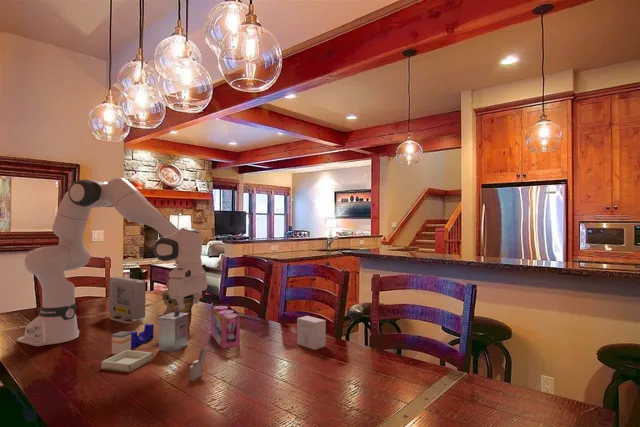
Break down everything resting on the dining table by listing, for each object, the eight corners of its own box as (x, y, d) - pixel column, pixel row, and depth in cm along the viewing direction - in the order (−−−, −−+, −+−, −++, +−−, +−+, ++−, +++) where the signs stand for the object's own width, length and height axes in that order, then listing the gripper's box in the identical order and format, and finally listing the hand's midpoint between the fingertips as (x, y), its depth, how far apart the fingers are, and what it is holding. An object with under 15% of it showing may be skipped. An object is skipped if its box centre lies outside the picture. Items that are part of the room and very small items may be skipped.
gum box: (241, 347, 146) (241, 314, 146) (222, 350, 143) (222, 317, 143) (227, 331, 166) (227, 303, 166) (210, 334, 162) (210, 305, 163)
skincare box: (326, 346, 147) (326, 319, 148) (315, 350, 143) (315, 323, 143) (307, 340, 155) (307, 314, 155) (296, 344, 150) (296, 317, 150)
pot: (169, 337, 157) (170, 294, 158) (155, 332, 164) (156, 291, 164) (204, 328, 171) (204, 288, 171) (190, 323, 178) (190, 286, 178)
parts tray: (101, 368, 125) (101, 361, 125) (126, 356, 135) (126, 349, 136) (129, 372, 122) (129, 364, 122) (152, 359, 133) (153, 352, 133)
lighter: (193, 381, 115) (193, 355, 115) (189, 380, 116) (189, 354, 116) (207, 372, 122) (207, 347, 122) (202, 371, 123) (203, 347, 123)
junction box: (157, 350, 142) (157, 309, 142) (171, 343, 150) (172, 304, 150) (175, 352, 140) (175, 311, 140) (188, 345, 148) (189, 305, 148)
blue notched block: (143, 337, 158) (143, 323, 158) (153, 338, 157) (153, 324, 157) (124, 347, 146) (124, 332, 146) (134, 348, 145) (134, 332, 145)
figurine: (173, 309, 206) (173, 273, 206) (183, 311, 201) (183, 274, 202) (159, 313, 198) (159, 275, 198) (169, 315, 194) (169, 276, 194)
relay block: (111, 354, 138) (111, 334, 138) (121, 349, 143) (121, 331, 143) (121, 355, 137) (122, 335, 137) (131, 350, 142) (131, 332, 142)
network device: (149, 320, 183) (149, 280, 183) (132, 325, 176) (132, 282, 176) (120, 313, 197) (120, 275, 197) (103, 317, 189) (104, 278, 190)
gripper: (197, 266, 154) (197, 299, 154) (165, 273, 135) (165, 311, 134) (211, 267, 153) (210, 300, 153) (180, 274, 133) (180, 313, 133)
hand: (189, 306), depth 143 cm, fingers open, 8 cm apart
